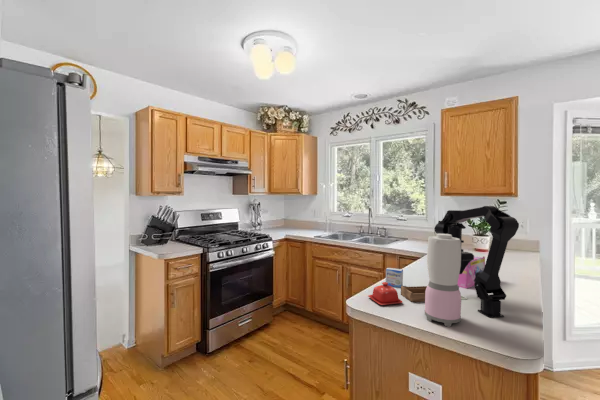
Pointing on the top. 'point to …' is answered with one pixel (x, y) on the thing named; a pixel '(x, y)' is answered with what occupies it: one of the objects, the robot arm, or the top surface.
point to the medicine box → (394, 277)
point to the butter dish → (385, 295)
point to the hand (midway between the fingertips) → (453, 271)
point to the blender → (443, 279)
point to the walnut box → (414, 293)
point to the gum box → (471, 272)
